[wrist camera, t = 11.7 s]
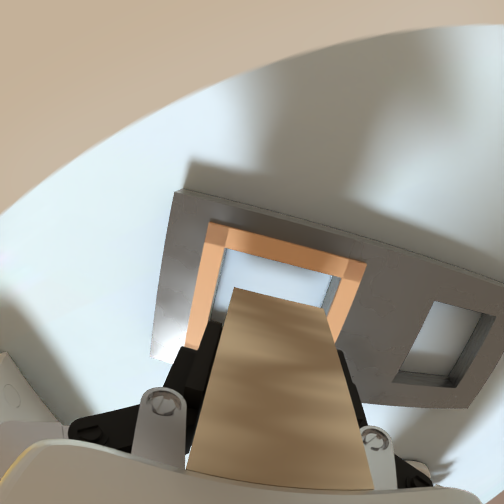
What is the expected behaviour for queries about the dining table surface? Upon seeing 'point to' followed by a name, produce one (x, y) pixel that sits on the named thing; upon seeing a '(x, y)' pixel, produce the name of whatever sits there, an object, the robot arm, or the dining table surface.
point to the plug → (279, 402)
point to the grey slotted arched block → (19, 396)
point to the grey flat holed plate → (331, 296)
